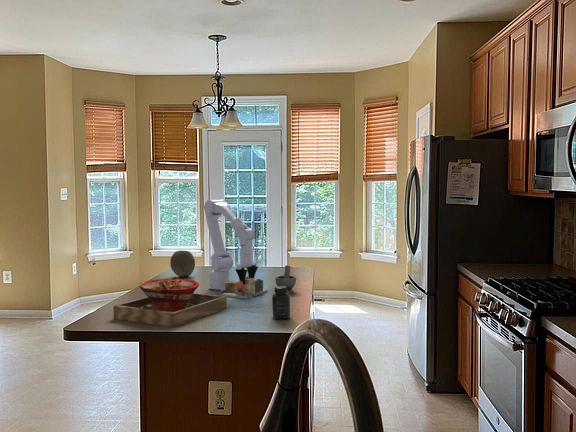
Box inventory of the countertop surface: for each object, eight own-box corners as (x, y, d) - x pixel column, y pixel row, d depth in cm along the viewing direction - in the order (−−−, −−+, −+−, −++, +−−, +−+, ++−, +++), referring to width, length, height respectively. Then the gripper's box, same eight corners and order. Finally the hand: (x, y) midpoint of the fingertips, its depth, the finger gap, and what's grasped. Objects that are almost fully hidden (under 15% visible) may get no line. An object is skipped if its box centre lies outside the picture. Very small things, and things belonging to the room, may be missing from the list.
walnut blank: (225, 293, 255) (224, 282, 255) (228, 291, 259) (228, 281, 259) (235, 293, 254) (235, 283, 254) (238, 291, 258) (238, 281, 258)
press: (234, 294, 251) (233, 279, 251) (247, 290, 262) (247, 275, 261) (254, 296, 246) (254, 281, 246) (267, 291, 257) (267, 277, 256)
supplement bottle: (271, 316, 208) (271, 285, 208) (289, 315, 209) (289, 284, 208) (273, 320, 202) (272, 288, 201) (291, 319, 202) (290, 288, 202)
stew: (186, 323, 198) (185, 280, 198) (124, 322, 202) (123, 279, 201) (207, 306, 226) (206, 268, 225) (152, 305, 229) (151, 268, 228)
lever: (235, 294, 245) (235, 281, 244) (238, 293, 247) (238, 280, 246) (241, 295, 243) (241, 282, 242) (245, 294, 245) (244, 281, 245)
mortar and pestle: (293, 293, 251) (293, 268, 250) (274, 293, 253) (273, 268, 252) (297, 289, 262) (297, 264, 261) (279, 288, 264) (278, 264, 263)
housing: (240, 290, 254) (240, 277, 254) (245, 288, 258) (245, 275, 258) (249, 291, 252) (249, 278, 251) (254, 289, 256) (254, 276, 255)
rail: (220, 295, 248) (219, 290, 248) (223, 294, 251) (223, 289, 251) (248, 298, 241) (247, 293, 241) (251, 297, 244) (251, 292, 244)
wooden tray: (113, 318, 207) (113, 305, 207) (171, 301, 236) (170, 290, 236) (173, 327, 193) (173, 313, 193) (226, 308, 223) (226, 296, 222)
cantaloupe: (201, 276, 304) (200, 249, 303) (183, 280, 292) (182, 252, 291) (182, 274, 312) (181, 248, 311) (164, 277, 300) (164, 251, 299)
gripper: (245, 256, 246) (246, 285, 246) (261, 252, 258) (262, 280, 259) (232, 255, 249) (233, 284, 250) (249, 251, 262) (249, 279, 262)
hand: (247, 282), depth 255 cm, fingers open, 7 cm apart
